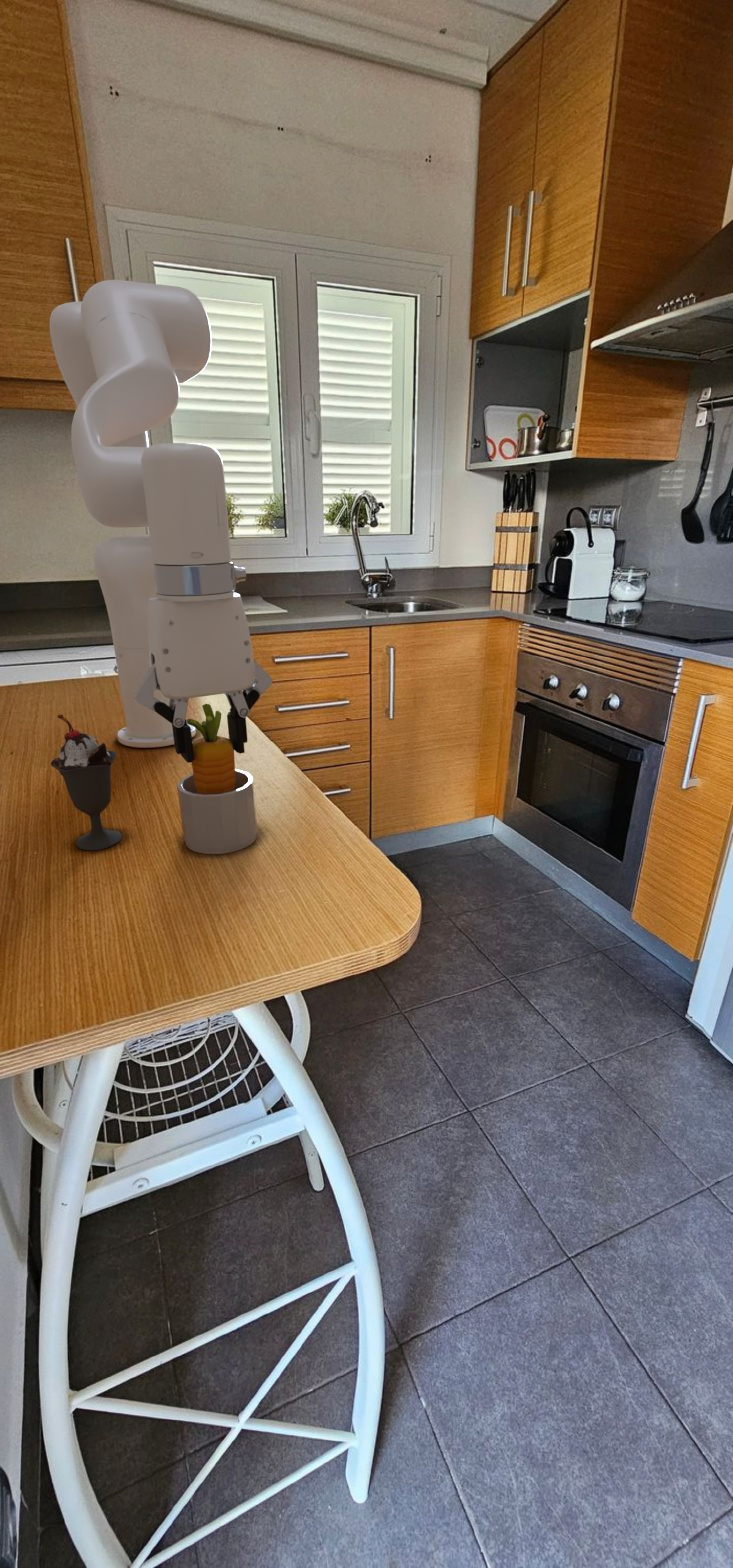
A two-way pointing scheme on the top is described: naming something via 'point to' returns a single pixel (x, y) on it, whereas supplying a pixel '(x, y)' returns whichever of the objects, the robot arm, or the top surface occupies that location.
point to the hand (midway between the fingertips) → (212, 752)
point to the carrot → (212, 756)
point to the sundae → (88, 783)
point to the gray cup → (218, 816)
